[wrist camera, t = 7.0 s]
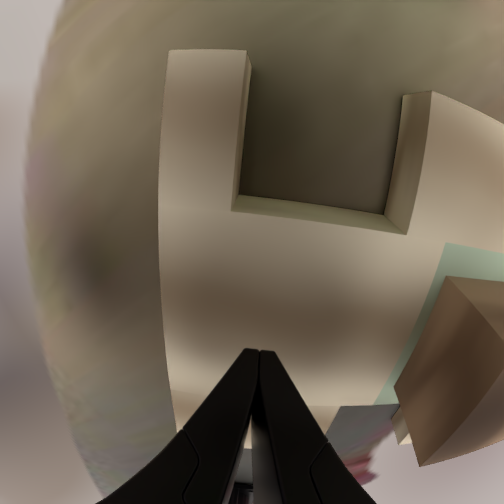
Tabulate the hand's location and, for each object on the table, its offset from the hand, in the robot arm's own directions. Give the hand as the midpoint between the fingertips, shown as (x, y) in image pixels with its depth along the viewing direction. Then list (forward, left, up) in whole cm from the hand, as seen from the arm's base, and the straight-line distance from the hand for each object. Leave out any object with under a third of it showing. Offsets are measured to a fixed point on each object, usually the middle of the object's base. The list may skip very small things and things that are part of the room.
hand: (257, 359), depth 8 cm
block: (0, -8, -1) cm, 9 cm away
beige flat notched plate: (0, -4, -3) cm, 5 cm away
